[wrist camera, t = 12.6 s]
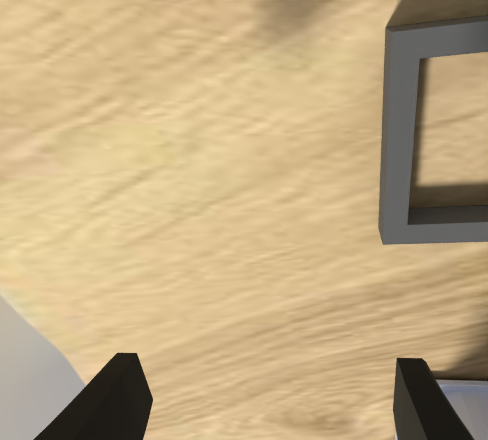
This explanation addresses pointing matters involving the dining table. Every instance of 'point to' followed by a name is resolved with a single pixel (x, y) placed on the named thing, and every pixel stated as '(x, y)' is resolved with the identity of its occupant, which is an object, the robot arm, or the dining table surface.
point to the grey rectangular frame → (402, 133)
